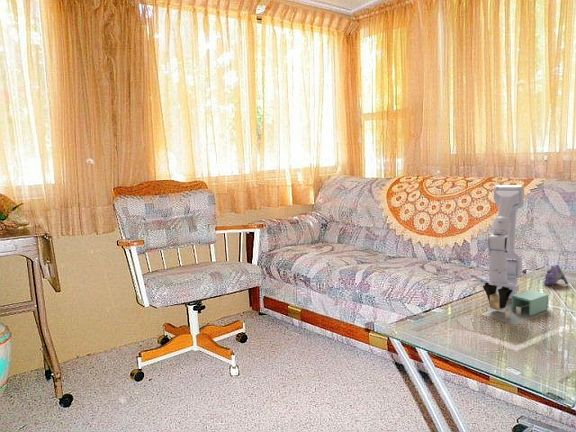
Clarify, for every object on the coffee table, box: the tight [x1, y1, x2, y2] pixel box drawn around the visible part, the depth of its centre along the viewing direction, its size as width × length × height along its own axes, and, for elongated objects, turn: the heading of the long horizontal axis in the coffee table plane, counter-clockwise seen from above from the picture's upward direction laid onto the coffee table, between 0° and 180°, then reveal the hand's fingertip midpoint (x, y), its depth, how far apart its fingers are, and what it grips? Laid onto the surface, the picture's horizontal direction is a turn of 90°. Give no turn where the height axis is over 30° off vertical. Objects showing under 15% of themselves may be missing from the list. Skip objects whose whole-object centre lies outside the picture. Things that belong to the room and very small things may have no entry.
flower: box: [543, 264, 569, 286], centre depth 196 cm, size 9×9×10 cm
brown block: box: [489, 293, 504, 310], centre depth 165 cm, size 4×4×5 cm
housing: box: [510, 289, 549, 316], centre depth 164 cm, size 7×10×5 cm
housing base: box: [480, 303, 552, 326], centre depth 163 cm, size 13×22×4 cm, turn 121°
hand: (497, 305), depth 165 cm, fingers closed on brown block, 4 cm apart
